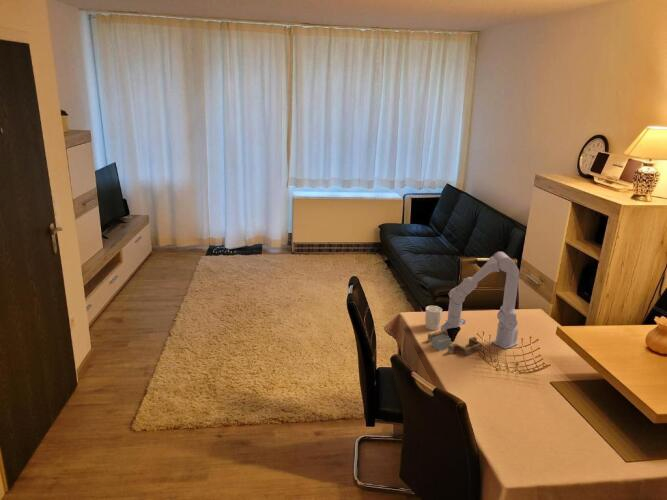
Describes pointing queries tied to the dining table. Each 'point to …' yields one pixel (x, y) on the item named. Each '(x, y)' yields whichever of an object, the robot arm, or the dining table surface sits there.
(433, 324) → the white cup
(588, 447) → the dining table surface
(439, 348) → the block
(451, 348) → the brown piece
